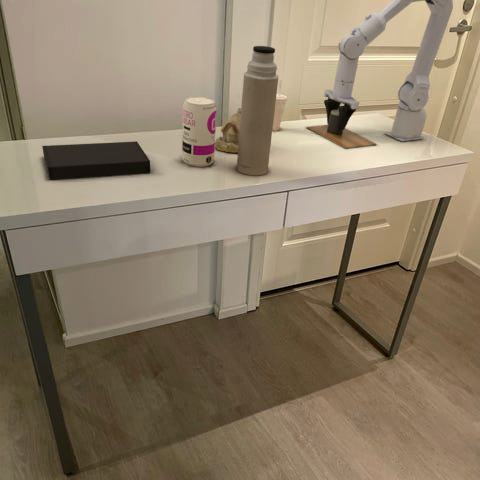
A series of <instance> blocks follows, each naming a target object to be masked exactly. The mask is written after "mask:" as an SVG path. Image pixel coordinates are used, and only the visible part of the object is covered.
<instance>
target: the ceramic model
mask: <svg viewBox="0 0 480 480" xmlns="http://www.w3.org/2000/svg"><path fill="white" fill-rule="evenodd" d="M240 119H241V107H239V108H238V109H237V111H236V112H235V113H233V114H232V116H231V117H230V118H228V120H226V121H225V123H224V124H223V125H222V127H221V128H220V132H221V134H222V136H219V137H217V138H215V148H216V150H218V151H222V152H226V153H238V145H239V132H240Z"/></svg>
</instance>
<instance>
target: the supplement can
mask: <svg viewBox="0 0 480 480" xmlns="http://www.w3.org/2000/svg"><path fill="white" fill-rule="evenodd" d="M217 108H218V107H217V106H216V103H215V100H214V99H212V98H210V97H206V96H189V97H186V98H185V101H184V102H183V104H182V138H181V139H182V140H181V143H182V147H181V150H182V151H181V152H182V153H181V157H182V158H181V159H182V161H184V163H185V164H186V165H188V166H191V167H197V168H199V167H201V168H202V167H208V166H210V165H211V164H212V163H214V161H215V152H216V151H215V148H216V145H215V141H216V130H217V129H216V128H217Z"/></svg>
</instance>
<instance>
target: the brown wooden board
mask: <svg viewBox="0 0 480 480" xmlns="http://www.w3.org/2000/svg"><path fill="white" fill-rule="evenodd" d="M327 128H328V124H321V125H312V126H306V129H308V130H309V131H311V132H313V133H315V134H316V135H318V136H321V137H323V138H324V139H327V140H328V141H330V142H332V143H334V144H336V145H338V146H339V147H341V148H343V149H345V150H347V149H355V148H363V147H364V148H365V147H372V146H377V143H375V142H374V141H372V140H369V139H367V138H365V137H363V136H361V135H359V134H357V133H356V132H353V131H351V130H349V129H347V128H345V129H344V130H343V133H342V134H340V135H335V134H330V133H328V132H327Z"/></svg>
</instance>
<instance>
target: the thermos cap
mask: <svg viewBox="0 0 480 480" xmlns="http://www.w3.org/2000/svg"><path fill="white" fill-rule="evenodd" d="M338 123H339V109H338V110H331V112H330V117H329V122H328V124H327V125H328V128H327V132H328V133H330V134H335V135H340V134H342V133H343V130H338Z"/></svg>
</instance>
